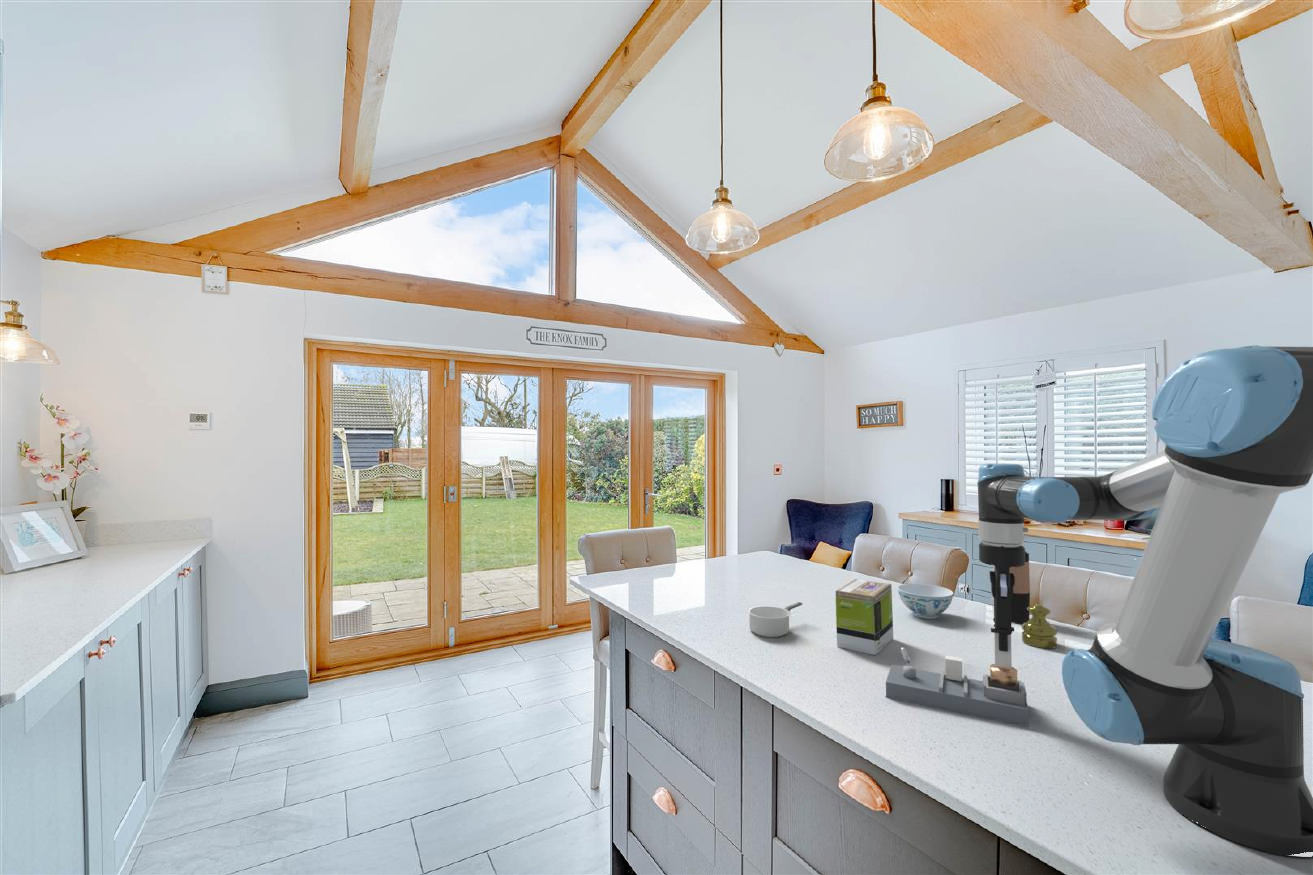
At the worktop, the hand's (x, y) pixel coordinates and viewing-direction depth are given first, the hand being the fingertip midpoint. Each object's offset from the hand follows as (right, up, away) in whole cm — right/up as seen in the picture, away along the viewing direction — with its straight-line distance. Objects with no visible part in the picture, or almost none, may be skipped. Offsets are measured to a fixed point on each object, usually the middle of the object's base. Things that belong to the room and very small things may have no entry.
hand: (1003, 665), depth 104 cm
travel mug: (+38, -10, +54) cm, 67 cm away
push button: (0, -3, 0) cm, 3 cm away
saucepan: (-32, -10, +47) cm, 58 cm away
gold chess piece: (+32, -9, +35) cm, 48 cm away
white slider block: (-6, -5, +7) cm, 10 cm away
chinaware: (+14, -10, +58) cm, 61 cm away
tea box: (-13, -10, +36) cm, 39 cm away
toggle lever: (-14, -3, +8) cm, 17 cm away
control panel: (-7, -9, +4) cm, 12 cm away
